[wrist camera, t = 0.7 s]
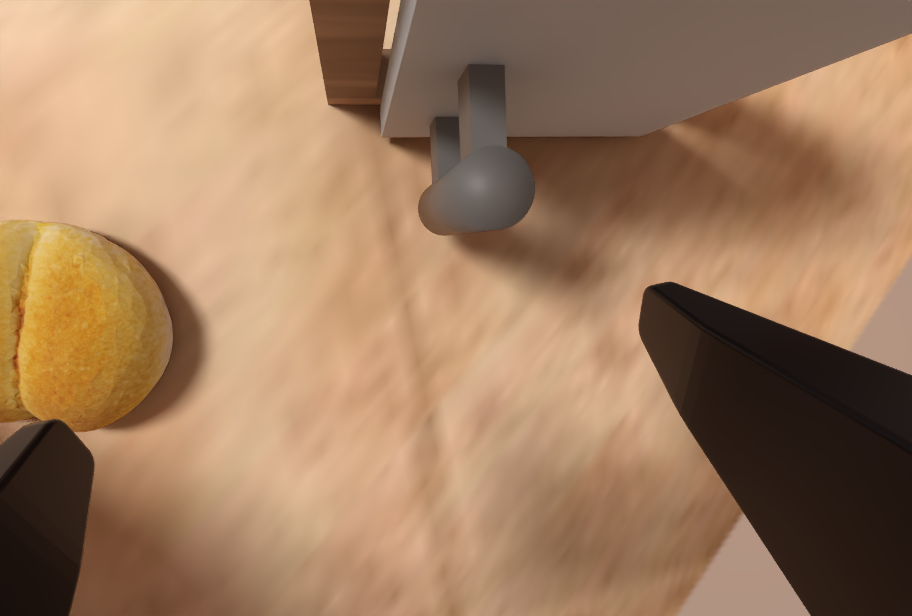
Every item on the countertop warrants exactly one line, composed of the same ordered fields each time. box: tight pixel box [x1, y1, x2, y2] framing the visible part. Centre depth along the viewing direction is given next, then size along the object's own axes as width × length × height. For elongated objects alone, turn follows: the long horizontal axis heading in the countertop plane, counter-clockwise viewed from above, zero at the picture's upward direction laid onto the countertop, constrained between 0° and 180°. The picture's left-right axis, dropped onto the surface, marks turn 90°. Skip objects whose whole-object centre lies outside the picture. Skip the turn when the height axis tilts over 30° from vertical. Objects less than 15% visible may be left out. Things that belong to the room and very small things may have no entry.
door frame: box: [309, 0, 391, 105], centre depth 16 cm, size 2×17×16 cm, turn 92°
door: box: [380, 0, 912, 236], centre depth 17 cm, size 6×12×14 cm, turn 93°
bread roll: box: [0, 220, 173, 432], centre depth 20 cm, size 8×9×4 cm
